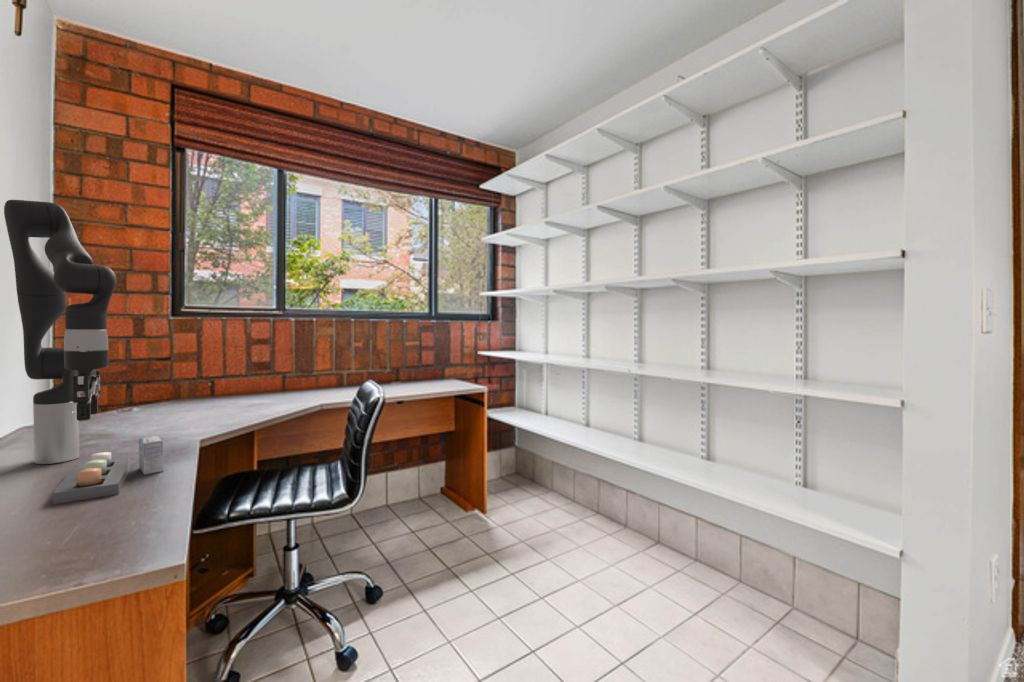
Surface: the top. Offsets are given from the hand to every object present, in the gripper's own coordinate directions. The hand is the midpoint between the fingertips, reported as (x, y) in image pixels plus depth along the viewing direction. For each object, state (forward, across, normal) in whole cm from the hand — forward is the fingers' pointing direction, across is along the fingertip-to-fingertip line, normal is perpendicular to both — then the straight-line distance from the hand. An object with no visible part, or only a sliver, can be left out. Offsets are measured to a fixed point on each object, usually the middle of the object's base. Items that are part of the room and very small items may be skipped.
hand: (87, 417), depth 103 cm
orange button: (+16, 0, 0) cm, 16 cm away
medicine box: (+19, -14, +10) cm, 26 cm away
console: (+18, -8, 0) cm, 20 cm away
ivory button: (+16, -16, 0) cm, 23 cm away
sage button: (+16, -8, 0) cm, 18 cm away
